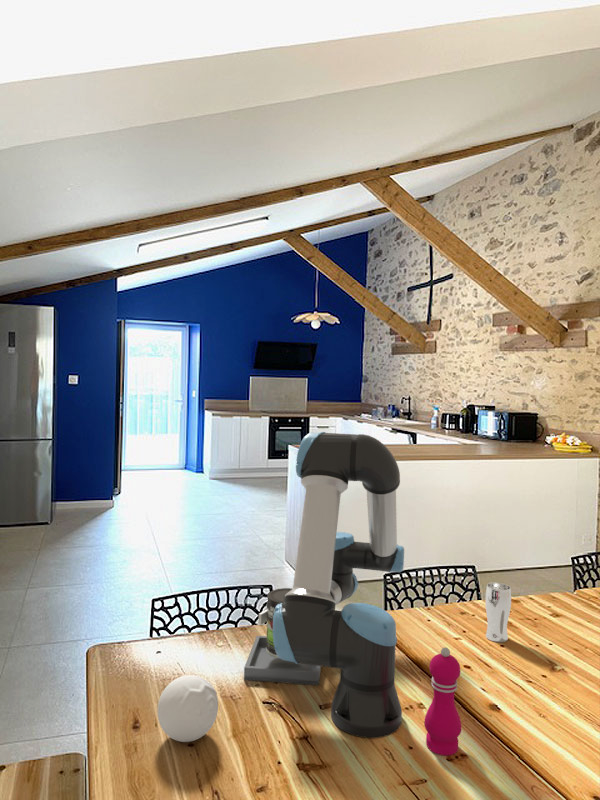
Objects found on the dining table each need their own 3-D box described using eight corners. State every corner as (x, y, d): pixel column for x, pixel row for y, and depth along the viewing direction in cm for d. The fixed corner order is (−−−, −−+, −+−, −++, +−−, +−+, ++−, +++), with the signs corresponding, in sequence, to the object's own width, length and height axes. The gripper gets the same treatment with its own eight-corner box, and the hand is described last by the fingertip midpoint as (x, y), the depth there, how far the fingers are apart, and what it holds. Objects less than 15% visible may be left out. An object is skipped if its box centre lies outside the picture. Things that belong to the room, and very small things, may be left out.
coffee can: (286, 663, 145) (288, 606, 144) (257, 649, 152) (258, 594, 151) (315, 649, 152) (316, 595, 152) (285, 637, 159) (287, 584, 159)
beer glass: (512, 636, 172) (514, 585, 172) (506, 645, 166) (508, 592, 166) (487, 630, 176) (489, 580, 176) (481, 639, 170) (483, 587, 170)
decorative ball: (180, 764, 112) (181, 701, 112) (145, 736, 120) (146, 678, 120) (229, 737, 121) (230, 679, 120) (193, 713, 129) (194, 658, 128)
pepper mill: (461, 760, 115) (465, 658, 115) (423, 754, 117) (427, 653, 116) (459, 738, 123) (463, 642, 122) (423, 733, 124) (426, 638, 123)
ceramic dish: (318, 685, 142) (319, 672, 142) (243, 679, 144) (244, 667, 144) (322, 651, 160) (323, 640, 160) (256, 646, 162) (256, 635, 161)
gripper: (358, 620, 161) (316, 651, 142) (288, 601, 173) (240, 628, 154) (359, 592, 160) (317, 620, 142) (289, 575, 173) (241, 599, 154)
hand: (277, 624), depth 148 cm, fingers closed on coffee can, 10 cm apart
